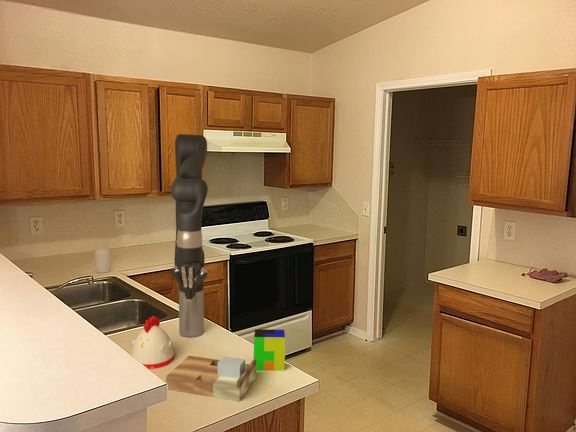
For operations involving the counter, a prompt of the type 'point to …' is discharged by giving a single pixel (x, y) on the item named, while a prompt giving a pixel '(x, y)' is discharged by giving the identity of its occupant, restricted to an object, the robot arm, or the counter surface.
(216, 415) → the counter surface
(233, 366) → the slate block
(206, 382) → the board
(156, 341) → the kitchen timer
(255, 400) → the counter surface
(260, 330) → the puzzle toy
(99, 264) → the pill bottle
